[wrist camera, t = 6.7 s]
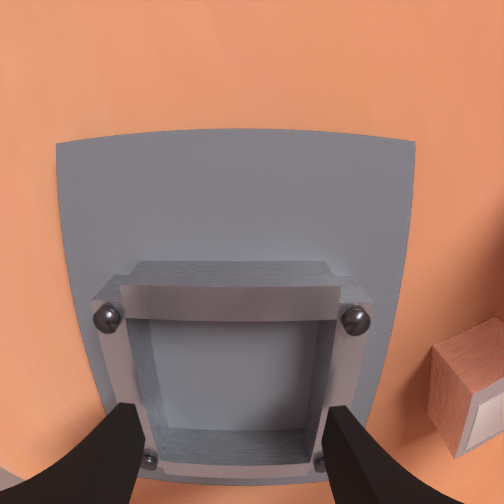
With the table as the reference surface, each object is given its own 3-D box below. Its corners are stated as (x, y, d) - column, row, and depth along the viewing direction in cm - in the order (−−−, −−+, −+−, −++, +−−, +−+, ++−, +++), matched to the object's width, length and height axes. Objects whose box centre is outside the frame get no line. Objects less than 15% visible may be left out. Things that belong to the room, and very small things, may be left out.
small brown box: (494, 315, 14) (539, 354, 10) (482, 384, 16) (515, 424, 12) (431, 344, 15) (473, 395, 10) (426, 411, 16) (454, 460, 12)
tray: (406, 141, 12) (456, 142, 8) (342, 469, 18) (353, 510, 14) (65, 143, 11) (13, 145, 8) (135, 467, 17) (124, 508, 14)
